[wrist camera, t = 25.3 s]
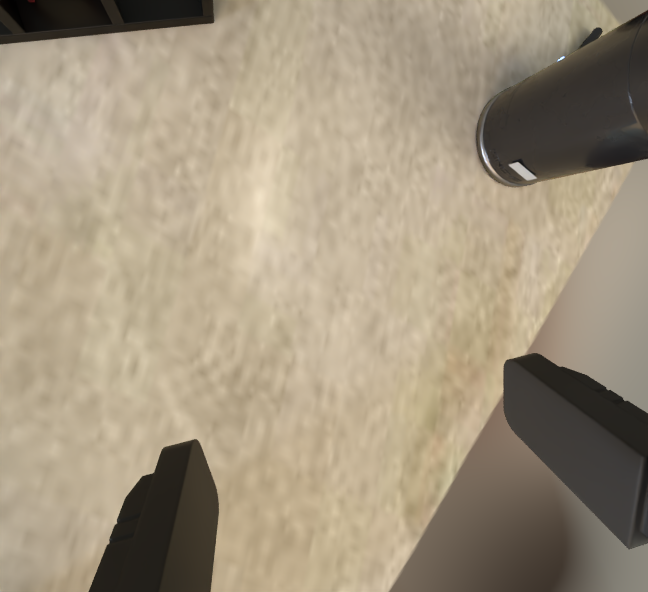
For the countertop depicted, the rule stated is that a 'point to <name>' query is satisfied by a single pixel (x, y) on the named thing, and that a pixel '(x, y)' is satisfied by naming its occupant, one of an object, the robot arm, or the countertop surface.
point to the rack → (95, 17)
